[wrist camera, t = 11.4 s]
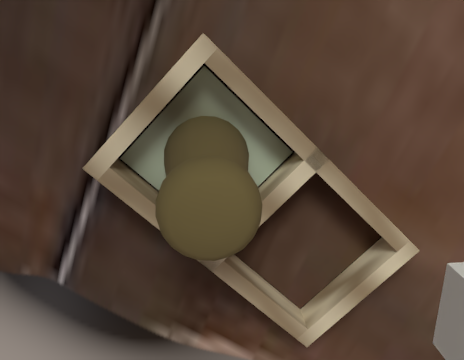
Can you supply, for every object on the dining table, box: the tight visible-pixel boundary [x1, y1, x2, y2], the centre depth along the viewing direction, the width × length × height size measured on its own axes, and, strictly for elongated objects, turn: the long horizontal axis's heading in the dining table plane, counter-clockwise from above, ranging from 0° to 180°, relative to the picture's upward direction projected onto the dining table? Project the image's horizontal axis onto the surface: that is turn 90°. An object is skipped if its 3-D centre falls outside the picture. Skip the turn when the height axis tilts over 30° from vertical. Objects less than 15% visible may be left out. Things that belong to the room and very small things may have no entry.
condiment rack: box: [82, 33, 419, 347], centre depth 29 cm, size 11×22×2 cm, turn 46°
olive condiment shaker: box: [155, 116, 263, 261], centre depth 23 cm, size 6×6×11 cm
